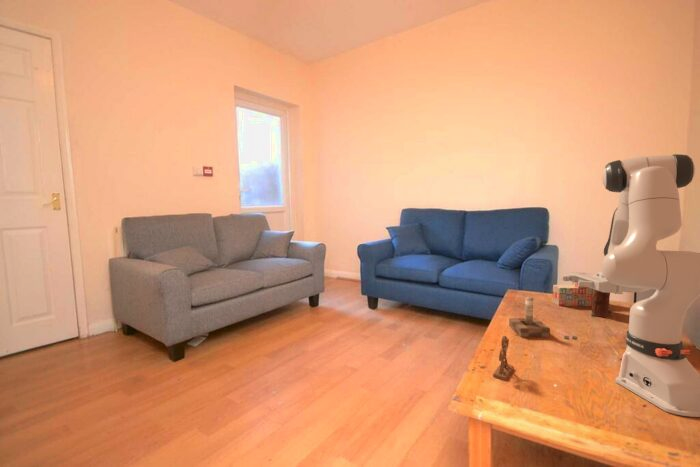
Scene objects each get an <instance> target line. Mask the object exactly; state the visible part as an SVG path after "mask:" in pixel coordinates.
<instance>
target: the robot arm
mask: <svg viewBox="0 0 700 467" xmlns="http://www.w3.org/2000/svg"><path fill="white" fill-rule="evenodd" d="M695 166H696V165H695V164H694V161H693V159H692V158H691V157H690V156H689V155H687V154H680V153H679V154H675V153H674V154H672V155H651V156H650V155H649V156H639V157H632V158H628V159H627V158H626V159H622V160H620V159H618V160H613V161H611V162H608V163H607V164H606V165H605V167H604V169H603V171H602V173H601V181H602V184H603V186H604V188H605V190H607V191H609V192H613V193H619V196H618V206H617V207H616V209H615V210H614V211H613V215H612V218H611V221H610V222H611V224H610V229H609V234H608V239H607V242H606V243H605V245H604V249H603V255H604V257H603V258H602V261H601V264H600V269H599V270H598V271H597V272H596V273H594V274H592V273H588V272H577V271H576V272H574V271H573V272H568V274H567V275H565V276H562V277H561V278H562V281H564V282H571V283H572V282H574V283H577V286H580V287H589V288H592V289H595V290H597V291H601V292H608V293H610V294H615V295H616V294H617V295H623V294H624V293H642V292H647V291H650V290H655V292H654V293H652V295H651V296H649V297H647V298H645V299H641V300H638V301H637V302H636V301H635V302H634V304H632V306H631V307H630V309H629V320H628V330H626V334H625V344H626V348H625V351H624V352H623V355H622V358H621V363H620V368H619V372H618V375H617V376H616V377H615V383H616V384H618V385H620V386H622V387H623V388H625V389H627V390H629V391H630V392H632V393H634V394H636V395H637V396H639V397H640V398H642V399H643V400H645V401H647V402H649V403H651V404H653V405H654V406H656V407H657V408H660V409H661V410H662V411H664V412H666V413H669V414H673V415H678V416H682V417H689V418H690V417H691V418H700V373H699V372H698V370H697V369H696V368H695V367H694V366H693V365H692V363H691V362H690V361H689V360H688V358H687V355H691V353H690V352H691V350H690V349H685V345H684V343H683V341H682V332H683V326H684V325H683V324H684V320H685V316H686V314H687V311H688V310H689V308H690V307H691V305H692V304H694V303H695V301H696V300H697V299H699V298H700V252H695V251H691V250H685V251H684V250H659V249H657V243H658V241H661V240H665V239H667V238H669V237H672V236H673V235H675V234H677V233H678V232H679V231H680V230H681V227H682V224H683V223H682V212H681V200H680V194H679V189H681V188H684V187H687V186H688V185H689V184H691V183H692V181H693V179H694V177H695V173H696V167H695Z"/></svg>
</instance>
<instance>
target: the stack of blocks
mask: <svg viewBox="0 0 700 467" xmlns="http://www.w3.org/2000/svg"><path fill="white" fill-rule="evenodd" d="M592 298H593V289H592V288H589V287H580V286H577V283H574V282H572V281H571V284H553V286H552V303H553V304H555V305H556V306H558V307H562V306H563V307H592Z"/></svg>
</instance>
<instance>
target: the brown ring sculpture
mask: <svg viewBox="0 0 700 467" xmlns="http://www.w3.org/2000/svg"><path fill="white" fill-rule="evenodd" d="M509 344H510V342H509V338H508V337H507V335H503V336H502V338H501V348H500V351H499V353H498V354H499V355H498V361H499V362H500V364H499V365H498V366H497V368H496V369H495V370H494V372H493V373H492V377H493V378H495V379H499V380H502V381H505V382H506V381H508V378H509V377H510V375H511V374H512V373H513V371H514V368H515V367H514V366H513V365H510V364H508V358H507V351H508V348H509Z"/></svg>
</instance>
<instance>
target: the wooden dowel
mask: <svg viewBox="0 0 700 467" xmlns="http://www.w3.org/2000/svg"><path fill="white" fill-rule="evenodd" d="M524 299H525V301H524V303H525V304H524V306H525V308H524V318H525V325H533V318H534V298H533V297H530V296H526V297H524Z"/></svg>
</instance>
